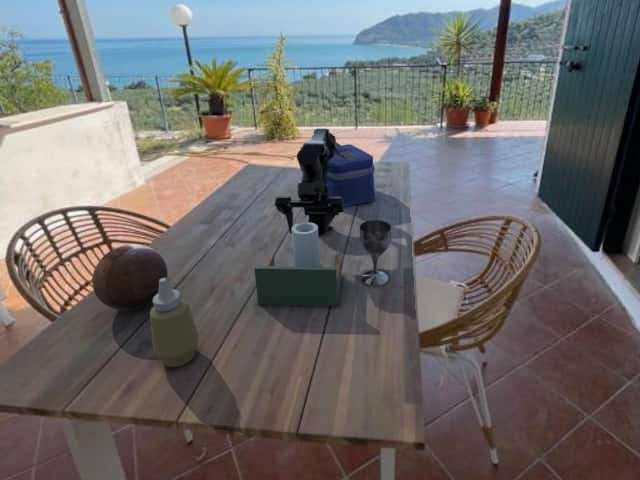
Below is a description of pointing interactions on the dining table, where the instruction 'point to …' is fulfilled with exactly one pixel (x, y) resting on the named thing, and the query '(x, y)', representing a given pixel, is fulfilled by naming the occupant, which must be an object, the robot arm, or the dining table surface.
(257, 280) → the cubby cabinet
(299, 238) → the storage jar
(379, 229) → the wine glass
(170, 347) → the squeeze bottle
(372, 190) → the lunch bag
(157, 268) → the wooden sphere
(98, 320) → the dining table surface
